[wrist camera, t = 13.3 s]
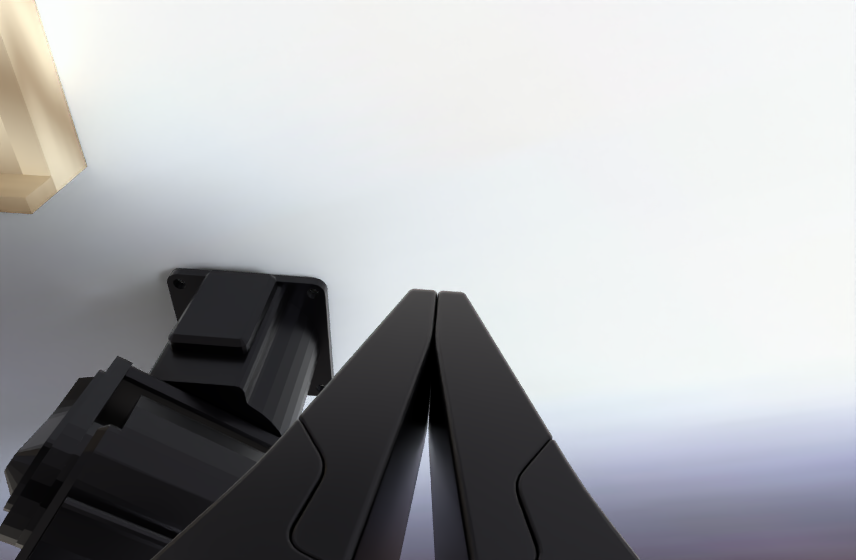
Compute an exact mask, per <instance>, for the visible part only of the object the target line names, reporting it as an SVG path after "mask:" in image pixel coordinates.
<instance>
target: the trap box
mask: <svg viewBox="0 0 856 560" xmlns="http://www.w3.org/2000/svg"><path fill="white" fill-rule="evenodd" d="M86 167H87V165H86V161H85V158H84V155H83V152H82V149H81V146H80V142H79V139H78V136H77V133H76V130H75V127H74V124H73V120H72V117H71V114H70V111H69V108H68V105H67V101H66V98H65V95H64V92H63V89H62V86H61V82H60V79H59V76H58V73H57V70H56V67H55V64H54V60H53V57H52V54H51V51H50V48H49V45H48V41H47V38H46V35H45V32H44V29H43V26H42V22H41V19H40V16H39V13H38V10H37V7H36V4H35V0H0V212H9V213H23V214H33V213H34V212H35V211H36V210H37V209H38V208H40V207H41V206H42V205H43V204H44V203H45V202H47V201H48V200H49V199H50V198H51V197H52V196H54V195H55V194H56V193H57V192H58V191H59V190H61V189H62V188H63V187H64V186H65V185H66V184H68V183H69V182H70V181H71V180H72V179H73V178H75V177H76V176H77V175H78V174H79V173H80V172H82V171H83V170H84V169H85V168H86Z"/></svg>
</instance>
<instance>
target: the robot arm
mask: <svg viewBox="0 0 856 560" xmlns="http://www.w3.org/2000/svg"><path fill="white" fill-rule="evenodd" d="M178 279H180V280H182V281H184V282H185V283H181V282H180V281H179V280H178ZM167 284H168V287H169V291H170V295H171V299H172V303H173V306H174V310H175V314H176V318H177V321H178V322H177V324H176V325H175V327H174V329H173V330H172V332H171V334H170V335H169V341H168V343H167V345H166V346H165V348H164V350H163V351H162V353H161V355H160V356H159V358H158V360H157V361H156V363H155V364H154V366H153V368H152V369H151V371H150V373H149V374H147V373H145V372H143V371H141V370H139V369H137V368H135V367H133V366H131V365H132V364H133V363H131V362H129V361H127V360H125V359H123V358H121V357H119V356H117V357H116V359H115V360H114V361H113V363H112V364H111V366H110V367H109V368H108V370H107V371H106V372H104V371H102V370H99V372H98V373H97V374H96V375H95V377H85V378H79V379H78V380H77V382H76V383H75V384H74V386H73V387H72V389H71V390H70V391H69V393H68V394H67V395H66V397H65V398H64V400H63V401H62V402H61V404H60V405H59V406H58V408H57V409H56V410H55V411H54V413H53V414H52V415H51V416H50V417H49V419H48V420H47V421H46V422H45V423H44V424H43V425H42V426H41V427H40V428H39V429H38V430H37V431H36V432H35V434H34V435H33V436H32V437H31V438H30V439H29V440H28V441H27V442H26V443H25V444H24V445H23V446H22V447H21V448H20V449H19V450H18V452H17V453H16V454H15V455H14V457H13V458H12V460H11V461H10V463H9V464H8V466H7V467H6V469H5V471H4V472H5V476H6V480H7V484H8V487H9V491H10V495H11V496H10V498H9V500H8V501H7V503H6V505H5V507H4V511H7V512H9V513H8V514H7V516H6V518H5V519H4V521H3V523H2V524H1V526H0V541H2V542H5V543H8V544H11V545H13V546H15V547H18V548H21V551H20V553H19V554H18V556H17V557H16V559H15V560H399V559H400V555H401V550H402V545H403V541H404V536H405V531H406V527H407V522H408V517H409V513H410V508H411V503H412V499H413V494H414V489H415V485H416V480H417V475H418V471H419V466H420V461H421V457H422V452H423V447H424V443H425V437H426V432H427V425H428V416H429V426H428V432H429V457H430V475H431V494H432V512H433V530H434V549H435V560H640V559H639V557H638V556H637V555H636V554H635V552H634V551H633V550H632V549H631V547H630V546H629V545H628V543H627V542H626V541H625V540H624V538H623V537H622V536H621V535H620V533H619V532H618V531H617V530H616V528H615V527H614V526H613V524H612V523H611V522H610V521H609V519H608V518H607V517H606V515H605V514H604V513H603V511H602V510H601V509H600V507H599V506H598V505H597V503H596V502H595V501H594V499H593V498H592V497H591V495H590V494H589V493H588V491H587V490H586V488H585V487H584V485H583V484H582V482H581V481H580V479H579V478H578V476H577V475H576V473H575V472H574V470H573V469H572V467H571V466H570V464H569V463H568V461H567V460H566V458H565V456H564V455H563V453H562V451H561V450H560V448H559V446H558V445H557V443H556V441H555V440H552V435H551V434H550V432H549V430H548V429H547V427H546V425H545V424H544V422H543V420H542V419H541V417H540V416H539V414H538V412H537V411H536V409H535V407H534V406H533V404H532V402H531V401H530V399H529V398H528V396H527V394H526V393H525V391H524V389H523V388H522V386H521V384H520V383H519V381H518V379H517V378H516V376H515V375H514V373H513V371H512V370H511V368H510V366H509V365H508V363H507V361H506V360H505V358H504V357H503V355H502V353H501V352H500V350H499V348H498V347H497V345H496V343H495V342H494V340H493V339H492V337H491V335H490V334H489V332H488V330H487V329H486V327H485V325H484V324H483V322H482V321H481V319H480V317H479V316H478V314H477V312H476V311H475V309H474V307H473V306H472V304H471V302H470V301H469V299H468V298H467V296H466V295H465V294H464V293H462V292H452V291H440V292H439V293H438V296H437V293H436V291H434V290H424V289H412V290H410V291H409V292H408V293H407V294H406V295H405V296H404V298H403V299H402V300H401V301H400V302H399V303H398V304H397V306H396V307H395V308H394V309H393V310H392V311H391V312H390V313H389V315H388V316H387V317H386V318H385V319H384V320H383V321H382V323H381V324H380V325H379V326H378V327H377V328H376V329H375V331H374V332H373V333H372V334H371V335H370V336H369V337H368V339H367V340H366V341H365V342H364V343H363V344H362V345H361V347H360V348H359V349H358V350H357V351H356V352H355V353H354V354H353V356H352V357H351V358H350V359H349V360H348V361H347V362H346V364H345V365H344V366H343V367H342V368H341V369H340V370H339V372H338V373H337V374H336V375H335V376H334V374H333V360H332V346H331V332H330V318H329V304H328V291H327V286H326V284H325V283H324V282H323V281H322V280H320V279H316V278H307V277H293V276H279V275H269V274H257V273H243V272H229V271H215V270H212V271H209V270H195V269H181V268H180V269H175V270H174V271H173V272H172V273H171V274H170V276H169V277H168V279H167ZM310 289H316V290H317V291H318V293H314V292H312V291H311V290H310ZM321 385H324V386H321ZM307 395H312V396H317V397H316V398H315V399H314V400H313V401H312V402H311V403H310V405H309V406H308V407H307V408H306V409H305V410H304V411H303V413H302V410H303V407H304V403H305V400H306V397H307ZM429 404H430V407H429ZM301 413H302V414H301Z"/></svg>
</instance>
